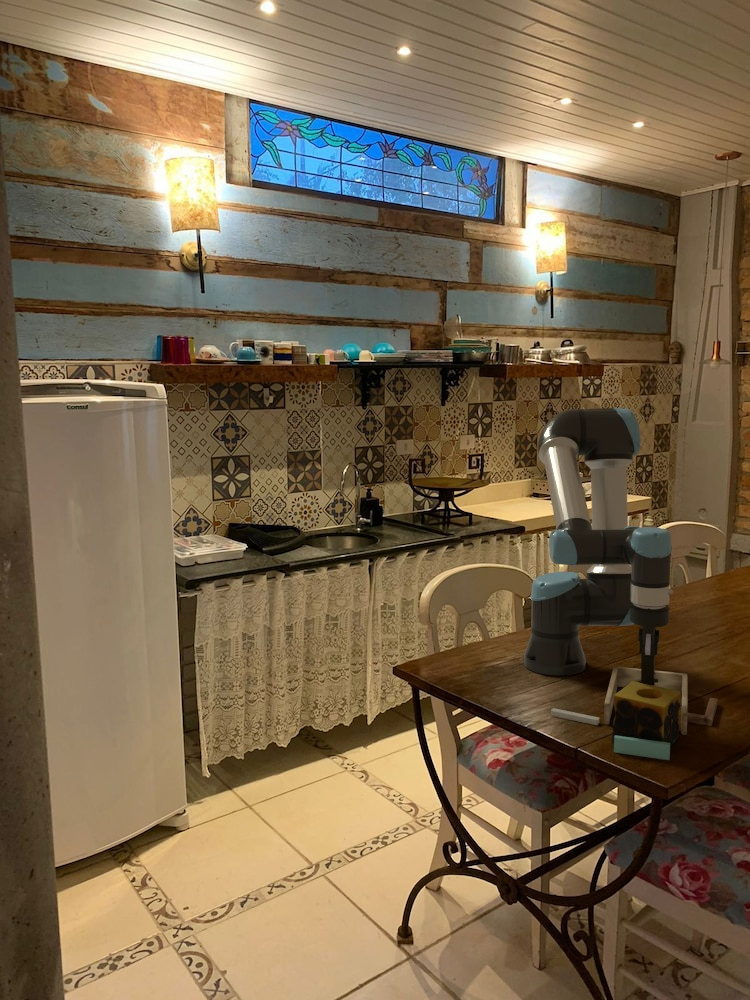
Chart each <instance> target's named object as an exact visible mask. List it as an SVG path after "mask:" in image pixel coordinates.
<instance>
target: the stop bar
mask: <svg viewBox="0 0 750 1000" xmlns="http://www.w3.org/2000/svg"><path fill="white" fill-rule="evenodd" d="M613 753H617V754H623V755H631V756H636V757H645V758H651V759H658V760H664V761H670V757H671V756H670V755H671V747H670V743H667V742H660V741H652V740H645V739H638V738H630V737H623V736H616V735H615V736H614V743H613Z"/></svg>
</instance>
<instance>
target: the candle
mask: <svg viewBox="0 0 750 1000" xmlns="http://www.w3.org/2000/svg"><path fill="white" fill-rule="evenodd" d="M681 698H682V694H681V692H680V691H676V690H671V689H667V688H662V687H658V686H653V685H648V684H643V683H639V682H635V681H631V682H630V683H629V685H627V686H626V687H622V689H621V690H619V691H618V692H616V694H615V695H614V705H613V707H614V708H613V709H614V719H613V721H612V726H611V727H612V732H611V743H612V744H614V736H615V735H616V736H623V737H630V738H638V739H645V740H652V741H660V742H667V743H670V748H671V747H672V746H673V745H675V743H676V742H677V741H678V740H679V738H680V736H679V735H680V734H679V733H680V723H679V722H680V720H679V718H680V713H679V711H680V708H681Z"/></svg>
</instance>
